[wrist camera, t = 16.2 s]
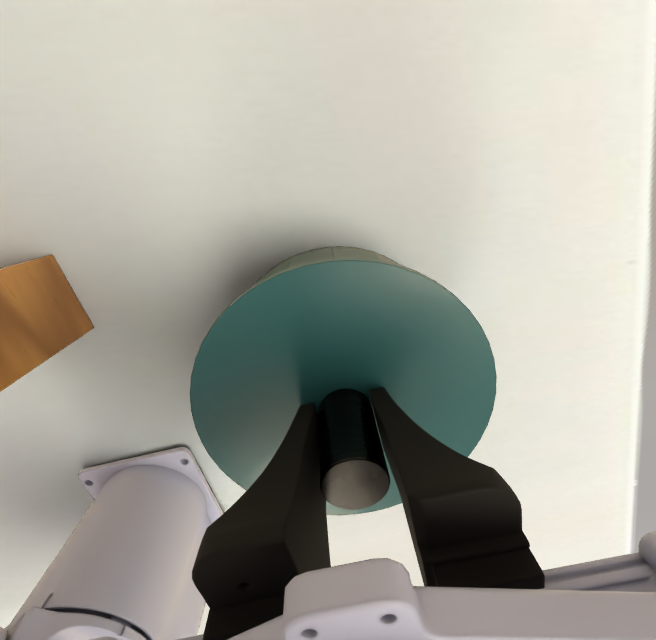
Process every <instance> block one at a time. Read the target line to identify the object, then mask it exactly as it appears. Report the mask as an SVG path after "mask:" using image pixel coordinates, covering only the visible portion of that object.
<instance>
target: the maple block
mask: <svg viewBox="0 0 656 640" xmlns="http://www.w3.org/2000/svg"><path fill="white" fill-rule="evenodd" d="M93 328H94V327H93V325H92V323H91V321H90V320H89V318H88V316H87V314H86V313H85V311H84V309H83V307H82V306H81V304H80V302H79V300H78V299H77V297H76V295H75V294H74V292H73V290H72V288H71V287H70V285H69V283H68V281H67V280H66V278H65V276H64V274H63V273H62V271H61V269H60V267H59V266H58V264H57V262H56V260H55V259H54V257H53V255H48V256H44V257H40V258H37V259H33V260H29V261H25V262H21V263H17V264H14V265H10V266H6V267H2V268H0V392H1V391H2V390H4V389H5V388H7V387H8V386H10V385H11V384H12V383H14V382H15V381H17V380H18V379H20V378H21V377H23V376H24V375H26V374H27V373H29V372H30V371H31V370H33V369H34V368H36V367H37V366H39V365H40V364H42V363H43V362H45V361H46V360H48V359H49V358H51V357H52V356H53V355H55V354H56V353H58V352H59V351H61V350H62V349H64V348H65V347H67V346H68V345H70V344H71V343H72V342H74V341H75V340H77V339H78V338H80V337H81V336H83V335H84V334H86V333H87V332H89V331H90V330H92V329H93Z"/></svg>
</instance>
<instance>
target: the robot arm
mask: <svg viewBox="0 0 656 640" xmlns="http://www.w3.org/2000/svg"><path fill="white" fill-rule="evenodd" d="M369 392H370V396H371V401H372V405H373V409H374V414H375V418H376V422H377V426H378V430H379V434H380V438H381V442H382V446H383V449H384V452H385V455H386V457H387V460H388V463H389V466H390V468H391V471H392V474H393V477H394V479H395V482H396V485H397V488H398V490H399V493H400V497H401V500H402V503H403V507H404V510H405V514H406V518H407V522H408V525H409V529H410V533H411V537H412V541H413V544H414V548H415V552H416V556H417V560H418V564H419V567H420V571H421V575H422V579H423V583H424V586H425V587H424V586H412V584H411V580H410V575H409V572H408V571H407V570H406V568H405V567H404V566H403V564H401V563H399V562H396V561H394V560H391V559H388V558H382V559H369V560H364V561H359V562H354V563H349V564H344V565H339V566H334V567H331V565H330V554H329V543H328V531H327V518H326V499H325V498H324V496H323V495H322V493H321V490H320V468H319V418H318V414H317V411H316V408H315V405H314V402H312V403H308V404H304V405H300V407H299V408H298V410H297V413H296V415H295V417H294V419H293V422H292V424H291V426H290V428H289V430H288V432H287V434H286V436H285V438H284V439H283V441H282V443H281V445H280V446H279V448H278V450H277V451H276V453H275V455H274V456H273V458H272V459H271V461H270V462H269V464H268V465H267V467H266V468H265V469H264V471H263V472H262V474H261V475H260V476H259V477H258V478H257V480H256V481H255V482H254V483H253V484H252V485H251V487H250V488H249V489H248V490H247V491H246V492H245V493H244V494H243V495H242V496H241V498H240V499H239V500H238V501H237V502H236V503H234V504H233V505H232V506H231V507H230V508H229V509H228V510H227V511H226V512H225V513H223V511H222V509H221V507H220V506H219V504H218V502H217V500H216V498H215V496H214V494H213V492H212V491H211V489H210V487H209V485H208V483H207V481H206V479H205V478H204V476H203V474H202V472H201V470H200V468H199V466H198V464H197V463H196V461H195V459H194V457H193V455H192V453H191V451H190V450H189V449H188V448H186V447H179V448H174V449H170V450H165V451H161V452H156V453H152V454H147V455H143V456H138V457H134V458H129V459H125V460H120V461H116V462H111V463H107V464H102V465H98V466H93V467H89V468H84V469H82V470H81V472H80V473H79V474H78V478H79V480H80V481H81V482H82V484H83V485H84V486H85V488H86V489H87V490H88V492H89V493H90V495H91V496H92V497H93V499H94V501H93V503H92V504H91V506H90V507H89V509H88V510H87V512H86V513H85V515H84V516H83V518H82V519H81V520H80V522H79V523H78V525H77V526H76V528H75V529H74V531H73V532H72V534H71V535H70V537H69V538H68V540H67V541H66V542H65V544H64V545H63V547H62V548H61V550H60V551H59V553H58V554H57V556H56V557H55V559H54V560H53V561H52V563H51V564H50V566H49V567H48V569H47V570H46V572H45V573H44V575H43V576H42V578H41V579H40V581H39V582H38V583H37V585H36V586H35V588H34V589H33V591H32V592H31V594H30V595H29V597H28V598H27V600H26V601H25V603H24V604H23V605H22V607H21V608H20V610H19V611H18V613H17V614H16V616H15V617H14V619H13V620H12V622H11V623H10V624H9V625H8V626H7V627H6V628H4V629H3V628H1V627H0V640H656V531H654V532H651V533H648V534H646V535H644V536H643V537H642V538H641V540H640V541H639V552H638V553H633V554H628V555H622V556H617V557H612V558H606V559H601V560H596V561H591V562H585V563H580V564H575V565H569V566H564V567H559V568H553V569H548V570H543V571H542V569H541V568H540V566H539V564H538V563H537V561H536V559H535V557H534V556H533V554H532V552H531V551H530V549H529V547H530V544H529V542H528V540H527V538H526V536H525V535H524V533H523V531H522V509H521V504H520V501H519V500H518V498H517V496H516V495H515V493H514V492H513V490H512V489H511V488H510V486H509V485H508V484H507V483H506V482H505V480H504V479H503V478H502V477H501V476H500V475H499V474H498V472H497V471H496V470H495V469H493V468H491V467H489V466H486V465H484V464H482V463H479V462H477V461H474V460H472V459H470V458H468V457H466V456H464V455H462V454H460V453H458V452H456V451H455V450H453V449H451V448H450V447H448V446H446V445H445V444H443V443H441V442H440V441H438V440H437V439H436V438H434V437H433V436H431V435H430V434H429V433H427V432H426V431H425V430H424V429H422V428H421V427H420V426H419V425H418V424H417V423H415V422H414V421H413V420H412V419H411V418H410V417H409V416H408V415H407V414H406V413H405V412H404V411H403V410H402V409H401V408H400V407H399V406H398V405H397V403H396V402H395V401H394V400H393V399H392V397H391V396H390V395H389V393H388V392H387V390H386V388H384V387H379V388H374V389H370V390H369ZM184 459H187V460H184ZM205 603H207V604H208V606H209V607H210V610H209V614H208V619H207V623H206V627H205V631H204V634H203V635H197V633H198V630H199V627H200V623H201V619H202V615H203V611H204V607H205ZM196 635H197V636H196Z"/></svg>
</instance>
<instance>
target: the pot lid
mask: <svg viewBox="0 0 656 640" xmlns="http://www.w3.org/2000/svg"><path fill="white" fill-rule="evenodd" d="M379 387H384V388H386V390H387V392H388V393H389V395H390V396H391V397H392V399H393V400H394V401H395V402H396V403H397V405H398V406H399V407H400V408H401V409H402V410H403V411H404V412H405V413H406V414H407V415H408V416H409V417H410V418H411V419H412V420H413V421H414V422H415V423H417V424H418V425H419V426H420V427H421V428H422V429H424V430H425V431H426V432H427V433H429V434H430V435H431V436H433V437H434V438H436V439H437V440H438V441H440V442H441V443H443V444H445V445H446V446H448V447H450V448H451V449H453V450H455V451H456V452H458V453H460V454H462V455H464V456H466V457H468V456H469V455H470V454H471V452H472V451H473V449H474V448H475V446H476V445H477V443H478V442H479V441H480V439H481V437H482V435H483V433H484V431H485V429H486V427H487V425H488V422H489V419H490V416H491V413H492V410H493V406H494V401H495V395H496V370H495V362H494V357H493V354H492V351H491V347H490V344H489V341H488V339H487V337H486V335H485V333H484V331H483V329H482V327H481V325H480V324H479V323H478V321H477V320H476V318H475V317H474V316H473V314H472V313H471V311H470V310H469V309H468V308H467V307H466V306H465V305H464V304H463V303H462V302H461V301H460V300H459V299H458V298H457V297H456V296H455V295H454V294H452V293H451V292H450V291H448V290H447V289H446V288H444V287H443V286H442V285H440V284H439V283H437V282H436V281H434V280H432V279H431V278H429V277H427V276H425V275H423V274H421V273H419V272H417V271H415V270H412V269H409V268H406V267H404V266H401V265H398V264H394V263H390V262H385V261H381V260H376V259H365V258H353V257H350V258H331V259H324V260H318V261H313V262H307V263H303V264H300V265H297V266H294V267H291V268H288V269H285V270H282V271H280V272H278V273H276V274H274V275H272V276H270V277H268V278H265V279H263V280H262V281H260V282H259V283H257V284H256V285H254V286H253V287H251V288H249V289H248V290H246V291H245V292H244V293H243V294H241V295H240V296H239V297H238V298H237V299H236V300H235V301H233V302H232V303H231V304H230V305H229V306H228V307H227V308H226V309H225V311H224V312H223V313H222V314H221V315H220V317H219V318H218V319H217V320H216V321H215V323H214V324H213V326H212V327H211V329H210V331H209V332H208V334H207V335H206V337H205V339H204V340H203V342H202V344H201V347H200V349H199V352H198V354H197V356H196V359H195V363H194V367H193V371H192V375H191V385H190V402H191V412H192V416H193V420H194V424H195V428H196V430H197V432H198V435H199V437H200V439H201V442H202V444H203V445H204V447H205V449H206V450H207V452H208V454H209V455H210V457H211V458H212V459H213V460H214V462H215V463H216V464H217V465H218V467H219V468H220V469H221V470H222V471H223V472H224V473H225V474H226V475H227V476H229V477H230V478H231V479H232V480H233V481H234V482H236V483H237V484H238V485H240V486H241V487H242V488H244V489H245V490H248V489H249V488H250V487H251V485H252V484H253V483H254V482H255V481H256V480H257V478H258V477H259V476H260V475H261V474H262V472H263V471H264V469H265V468H266V467H267V465H268V464H269V462H270V461H271V459H272V458H273V456H274V455H275V453H276V451H277V450H278V448H279V446H280V445H281V443H282V441H283V439H284V438H285V436H286V434H287V432H288V430H289V428H290V426H291V424H292V422H293V419H294V417H295V415H296V413H297V410H298V408H299V407H300V405H304V404H308V403H312V402H314V405H315V408H316V411H317V414H318V418H319V468H320V490H321V493H322V495H323V496H324V498H325V499H326V515H350V514H360V513H367V512H373V511H377V510H381V509H385V508H389V507H392V506H395V505H397V504H400V503H402V500H401V497H400V493H399V490H398V488H397V485H396V482H395V479H394V477H393V474H392V471H391V468H390V466H389V463H388V460H387V457H386V455H385V452H384V449H383V446H382V442H381V438H380V434H379V430H378V426H377V422H376V418H375V414H374V409H373V405H372V401H371V396H370V392H369V390H370V389H374V388H379Z"/></svg>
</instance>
